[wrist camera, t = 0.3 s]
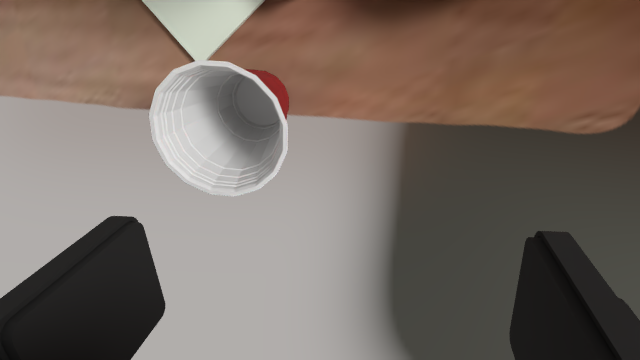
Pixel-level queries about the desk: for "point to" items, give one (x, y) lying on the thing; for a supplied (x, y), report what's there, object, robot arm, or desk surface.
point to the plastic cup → (221, 126)
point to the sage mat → (202, 21)
